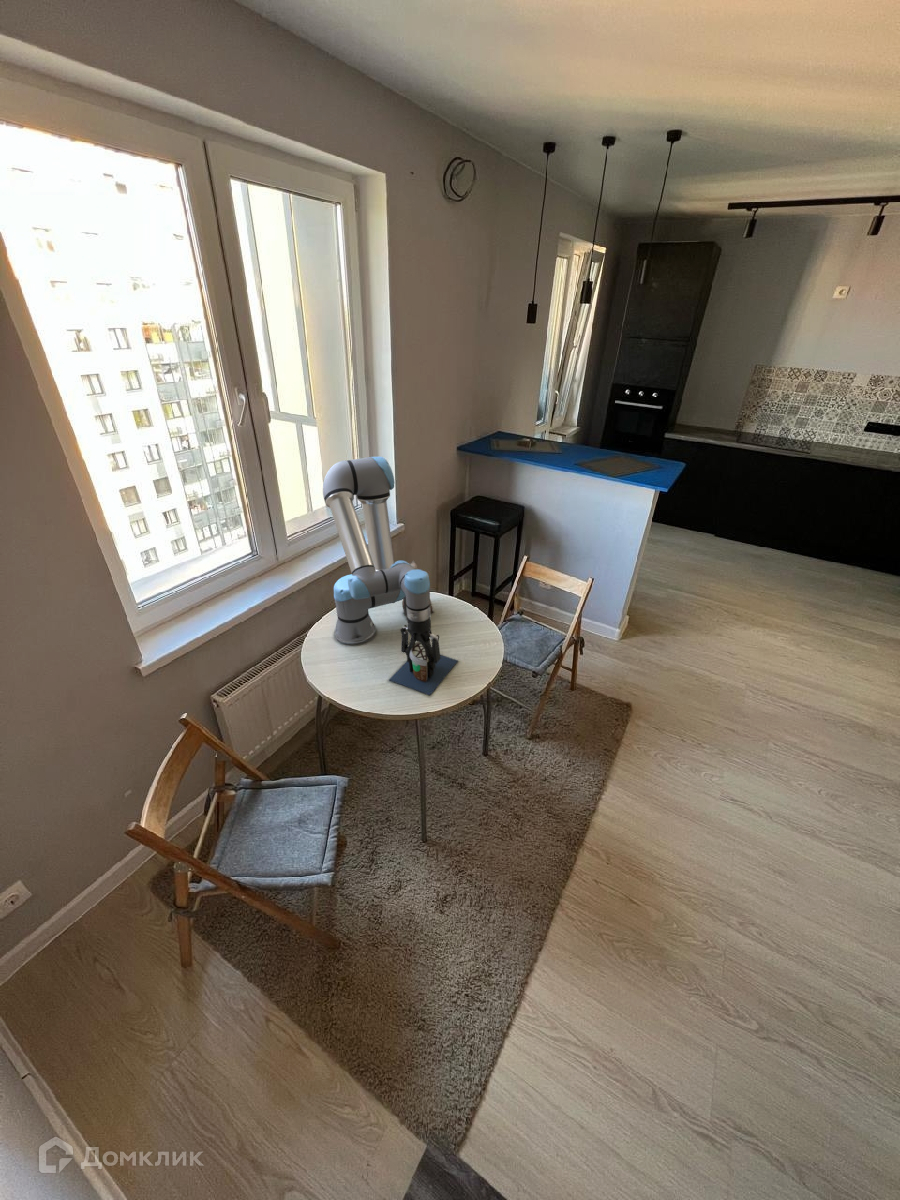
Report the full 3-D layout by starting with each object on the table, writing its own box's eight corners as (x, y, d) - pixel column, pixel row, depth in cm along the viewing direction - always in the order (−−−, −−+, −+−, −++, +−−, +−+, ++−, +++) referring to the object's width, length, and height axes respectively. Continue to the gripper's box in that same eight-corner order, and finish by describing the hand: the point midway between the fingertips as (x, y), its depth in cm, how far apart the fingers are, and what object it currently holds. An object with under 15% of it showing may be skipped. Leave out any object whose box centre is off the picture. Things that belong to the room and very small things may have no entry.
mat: (389, 680, 166) (389, 679, 166) (419, 648, 181) (419, 647, 181) (430, 695, 160) (430, 694, 160) (458, 661, 175) (458, 660, 175)
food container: (412, 660, 174) (411, 637, 169) (429, 661, 174) (429, 638, 169) (407, 683, 164) (407, 660, 159) (426, 684, 164) (426, 661, 158)
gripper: (386, 614, 158) (391, 670, 170) (439, 630, 150) (441, 687, 162) (399, 603, 163) (403, 658, 175) (451, 618, 155) (451, 674, 168)
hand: (421, 672), depth 169 cm, fingers closed on food container, 6 cm apart
